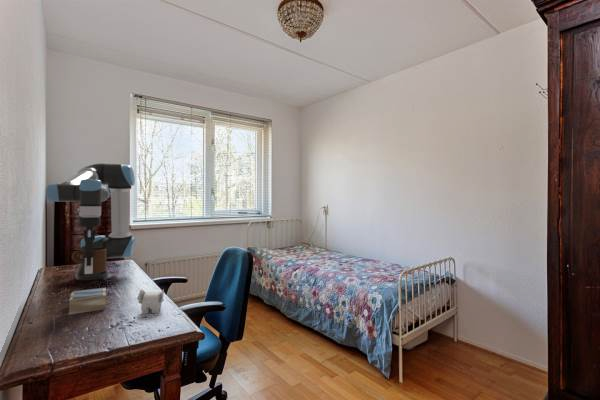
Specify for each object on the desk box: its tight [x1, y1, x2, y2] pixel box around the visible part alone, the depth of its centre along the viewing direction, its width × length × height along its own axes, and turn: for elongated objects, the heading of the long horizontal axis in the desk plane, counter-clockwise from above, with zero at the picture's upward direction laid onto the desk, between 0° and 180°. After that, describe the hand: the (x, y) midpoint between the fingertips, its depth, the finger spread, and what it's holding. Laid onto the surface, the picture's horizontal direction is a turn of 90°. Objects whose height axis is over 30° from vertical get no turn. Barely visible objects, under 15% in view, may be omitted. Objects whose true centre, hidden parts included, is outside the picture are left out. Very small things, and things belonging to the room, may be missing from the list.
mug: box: [71, 248, 107, 273], centre depth 126 cm, size 12×8×9 cm, turn 119°
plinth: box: [68, 287, 107, 315], centre depth 126 cm, size 12×12×6 cm
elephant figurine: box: [136, 288, 165, 315], centre depth 124 cm, size 10×12×9 cm
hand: (89, 271), depth 126 cm, fingers closed on mug, 7 cm apart
